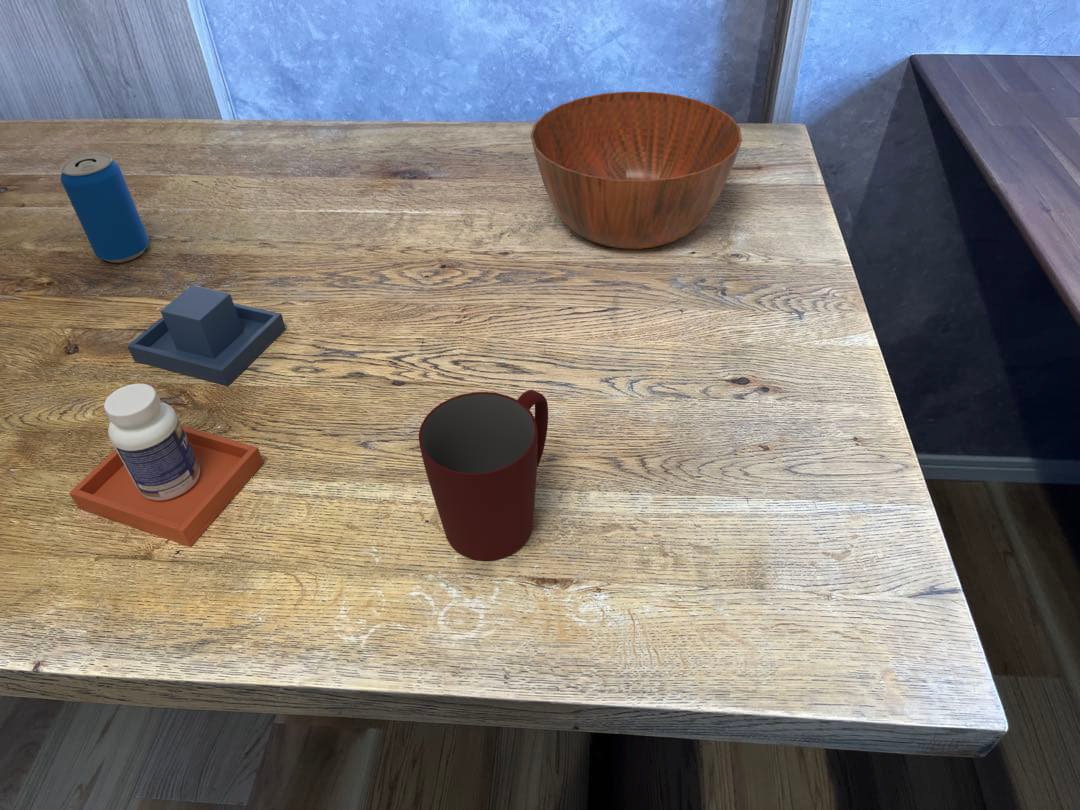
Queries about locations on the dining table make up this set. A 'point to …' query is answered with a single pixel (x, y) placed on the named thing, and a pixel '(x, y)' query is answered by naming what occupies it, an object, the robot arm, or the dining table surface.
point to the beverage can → (104, 206)
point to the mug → (485, 469)
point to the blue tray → (222, 369)
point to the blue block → (202, 321)
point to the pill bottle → (151, 442)
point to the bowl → (635, 165)
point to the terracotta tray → (180, 516)
